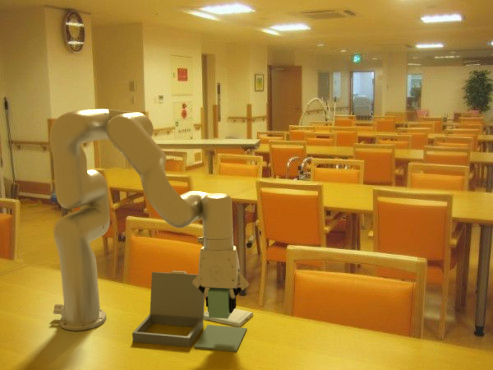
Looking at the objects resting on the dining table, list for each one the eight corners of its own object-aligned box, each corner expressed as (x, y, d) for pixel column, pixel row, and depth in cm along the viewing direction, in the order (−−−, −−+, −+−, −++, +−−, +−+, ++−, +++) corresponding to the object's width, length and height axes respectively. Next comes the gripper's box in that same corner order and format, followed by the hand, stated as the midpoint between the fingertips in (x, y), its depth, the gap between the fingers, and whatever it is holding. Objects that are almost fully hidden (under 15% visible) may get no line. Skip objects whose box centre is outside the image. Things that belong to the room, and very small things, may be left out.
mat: (194, 347, 129) (194, 346, 129) (207, 326, 140) (207, 324, 140) (236, 351, 126) (236, 350, 126) (246, 329, 138) (246, 328, 138)
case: (132, 341, 132) (132, 332, 132) (150, 322, 144) (149, 313, 143) (189, 347, 129) (189, 338, 129) (203, 326, 140) (203, 317, 140)
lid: (151, 270, 144) (153, 269, 145) (149, 314, 143) (151, 313, 144) (204, 273, 140) (206, 272, 142) (202, 318, 139) (204, 317, 141)
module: (208, 317, 130) (207, 291, 128) (215, 307, 135) (214, 282, 134) (227, 318, 128) (226, 292, 127) (233, 308, 134) (232, 283, 133)
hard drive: (201, 314, 145) (239, 323, 139) (215, 304, 152) (253, 311, 147) (201, 320, 145) (239, 328, 140) (216, 309, 153) (253, 316, 147)
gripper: (181, 245, 127) (185, 314, 130) (248, 248, 123) (250, 318, 126) (191, 237, 134) (194, 302, 137) (254, 239, 130) (256, 306, 133)
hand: (221, 309), depth 132 cm, fingers closed on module, 5 cm apart
